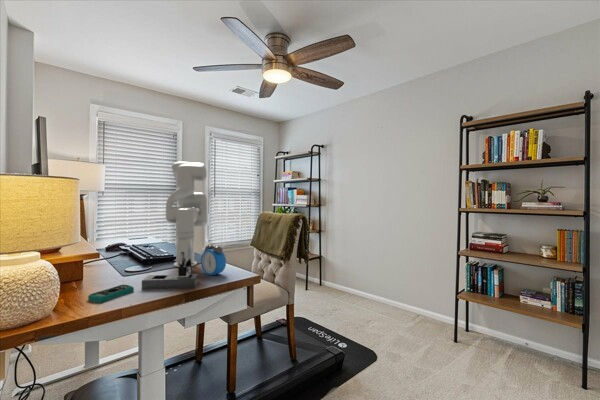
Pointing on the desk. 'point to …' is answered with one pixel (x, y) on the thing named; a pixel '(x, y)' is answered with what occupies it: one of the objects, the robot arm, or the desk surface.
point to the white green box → (187, 273)
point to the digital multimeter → (110, 293)
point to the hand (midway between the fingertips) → (185, 272)
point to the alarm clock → (213, 260)
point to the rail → (169, 282)
